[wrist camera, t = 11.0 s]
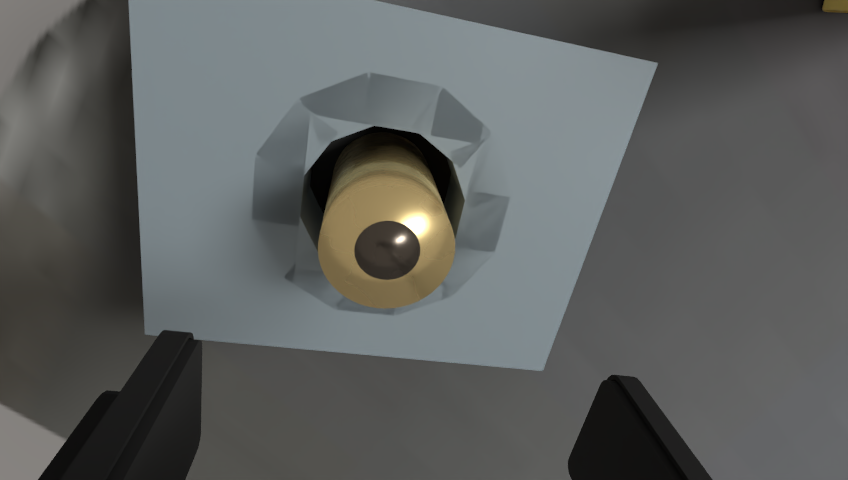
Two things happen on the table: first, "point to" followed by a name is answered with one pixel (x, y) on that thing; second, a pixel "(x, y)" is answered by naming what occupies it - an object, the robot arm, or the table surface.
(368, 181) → the bushing
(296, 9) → the plate
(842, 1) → the candy box
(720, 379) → the table surface
